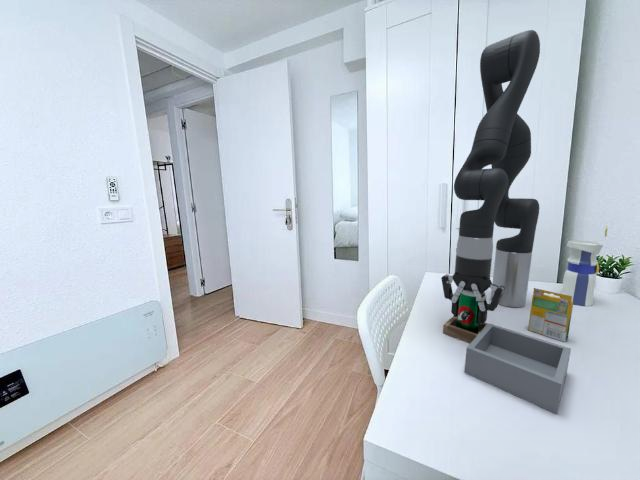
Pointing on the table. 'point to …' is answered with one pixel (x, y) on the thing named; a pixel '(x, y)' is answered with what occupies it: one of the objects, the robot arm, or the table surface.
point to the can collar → (460, 331)
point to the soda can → (468, 311)
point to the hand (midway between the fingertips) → (467, 319)
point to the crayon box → (550, 314)
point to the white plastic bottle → (581, 271)
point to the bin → (519, 365)
